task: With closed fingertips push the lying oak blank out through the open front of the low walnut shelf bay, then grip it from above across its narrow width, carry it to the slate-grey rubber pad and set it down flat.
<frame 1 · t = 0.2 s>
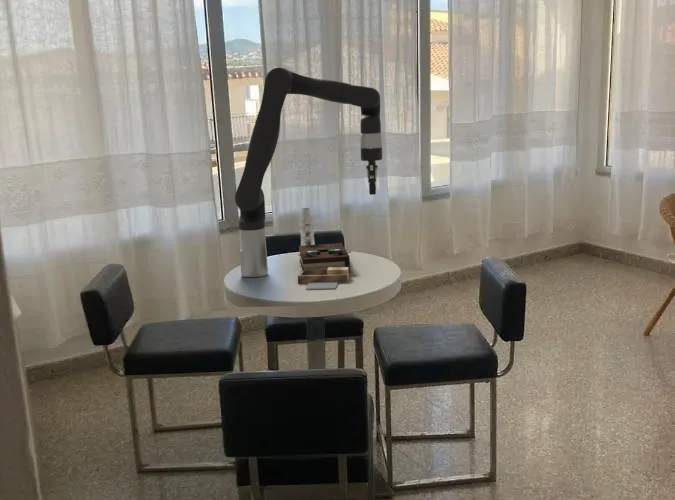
hand: (372, 192, 250), 29 cm above the table, tool pointing down, fingers open, 8 cm apart
rubber pad: (322, 286, 239), on the table
oak blank: (338, 279, 248), on the table
shelf bay: (324, 279, 248), on the table
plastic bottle: (308, 258, 284), on the table
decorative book: (324, 268, 267), on the table
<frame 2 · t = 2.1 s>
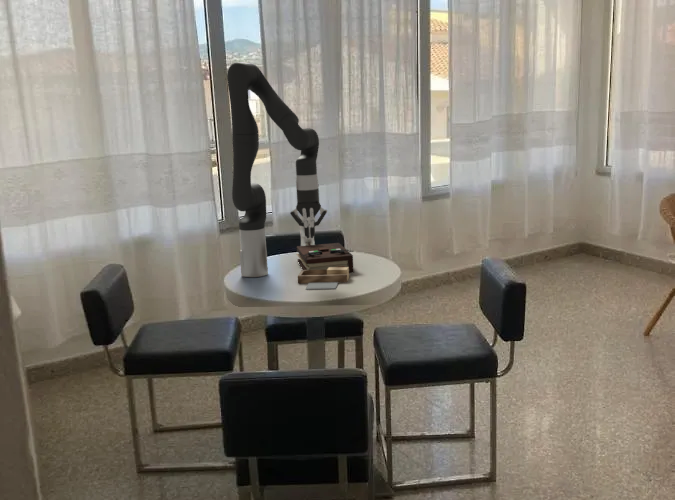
hand: (310, 237, 246), 15 cm above the table, tool pointing down, fingers closed
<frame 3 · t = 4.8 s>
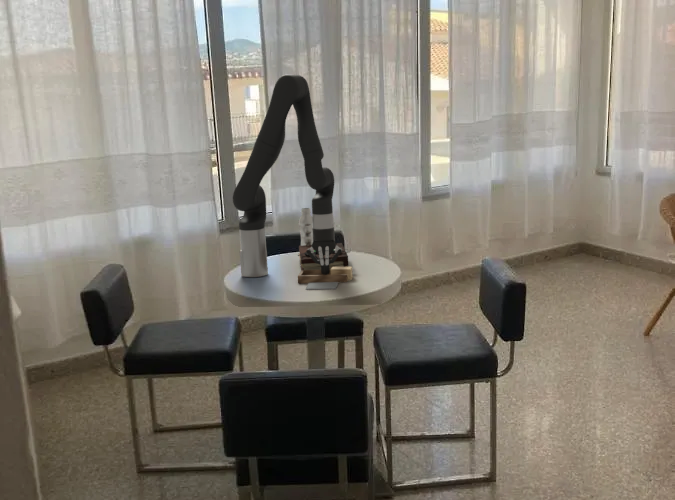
hand: (325, 275, 248), 2 cm above the table, tool pointing down, fingers closed
oak blank: (341, 279, 248), on the table, touching gripper
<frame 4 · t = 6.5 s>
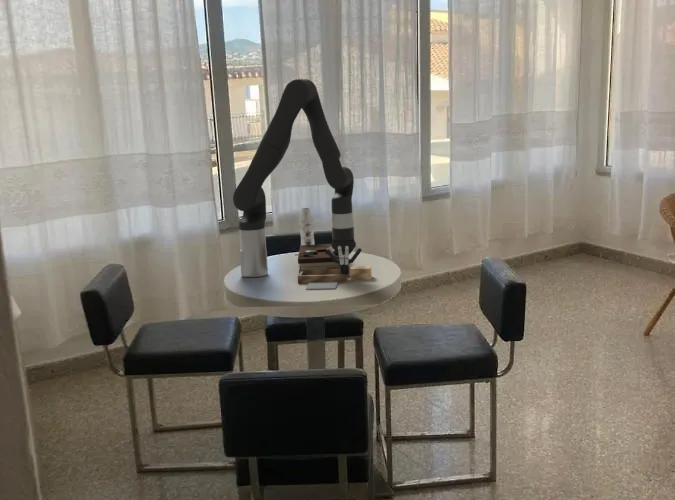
hand: (345, 274, 247), 2 cm above the table, tool pointing down, fingers closed
oak blank: (361, 278, 248), on the table
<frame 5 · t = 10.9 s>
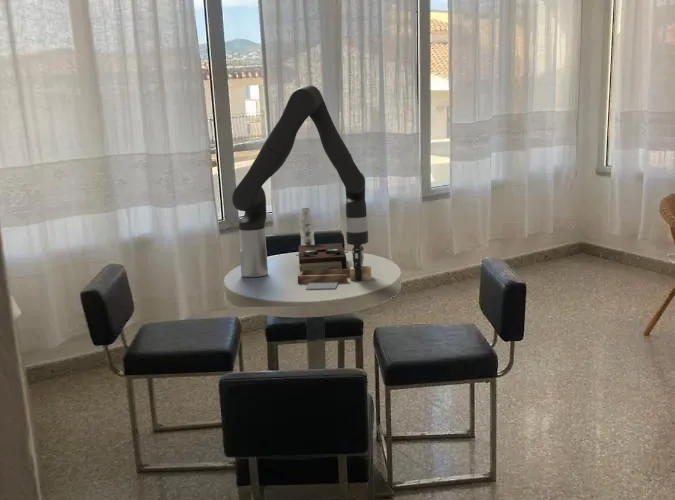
hand: (359, 277, 247), 0 cm above the table, tool pointing down, fingers open, 4 cm apart
oak blank: (361, 278, 247), on the table, touching gripper
everything else where it was.
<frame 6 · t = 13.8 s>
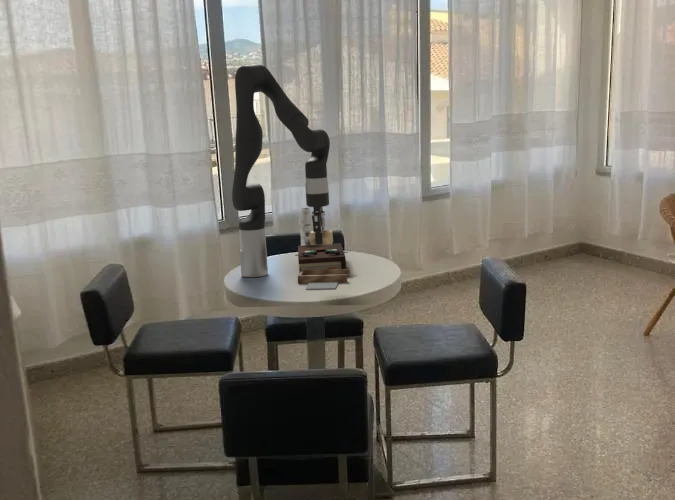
hand: (319, 242, 236), 15 cm above the table, tool pointing down, fingers closed on oak blank, 4 cm apart
oak blank: (321, 243, 236), point 15 cm above the table, touching gripper
everything else where it was.
when the fingers open (2 cm above the table, at t = 16.6 s): oak blank stays where it is, resting on rubber pad.
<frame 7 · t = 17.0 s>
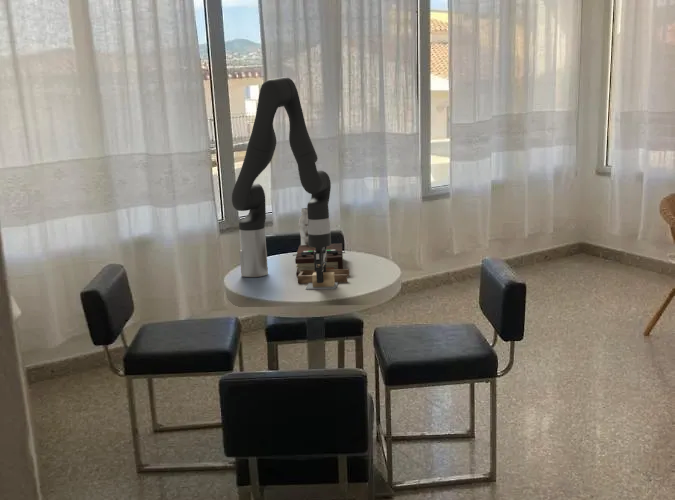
hand: (321, 279, 239), 2 cm above the table, tool pointing down, fingers open, 7 cm apart
oak blank: (323, 285, 239), resting on rubber pad
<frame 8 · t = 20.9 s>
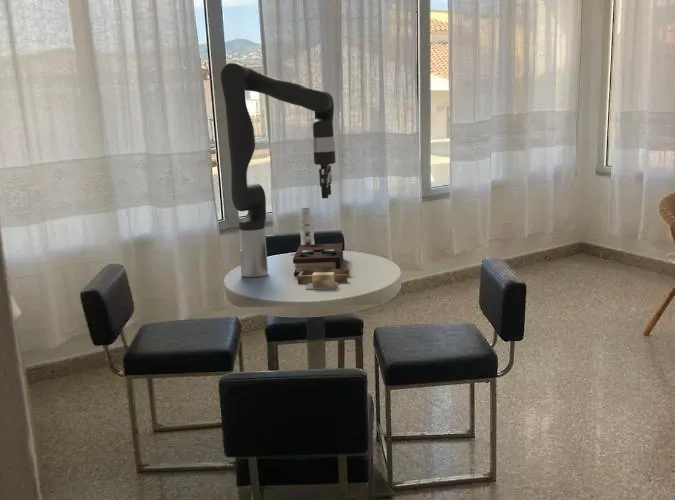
hand: (326, 196, 250), 28 cm above the table, tool pointing down, fingers open, 8 cm apart
at the end: oak blank inside the target area on the rubber pad (0.6 cm from its centre), point 0.4 cm above the rubber pad's base; oak blank tilted 0°; the gripper is holding nothing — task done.
